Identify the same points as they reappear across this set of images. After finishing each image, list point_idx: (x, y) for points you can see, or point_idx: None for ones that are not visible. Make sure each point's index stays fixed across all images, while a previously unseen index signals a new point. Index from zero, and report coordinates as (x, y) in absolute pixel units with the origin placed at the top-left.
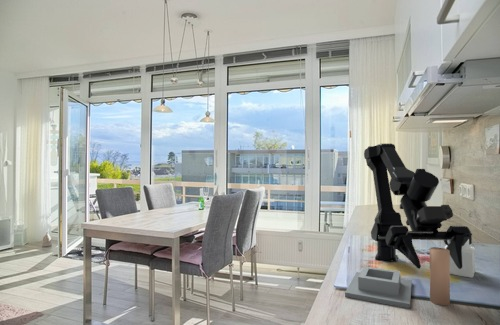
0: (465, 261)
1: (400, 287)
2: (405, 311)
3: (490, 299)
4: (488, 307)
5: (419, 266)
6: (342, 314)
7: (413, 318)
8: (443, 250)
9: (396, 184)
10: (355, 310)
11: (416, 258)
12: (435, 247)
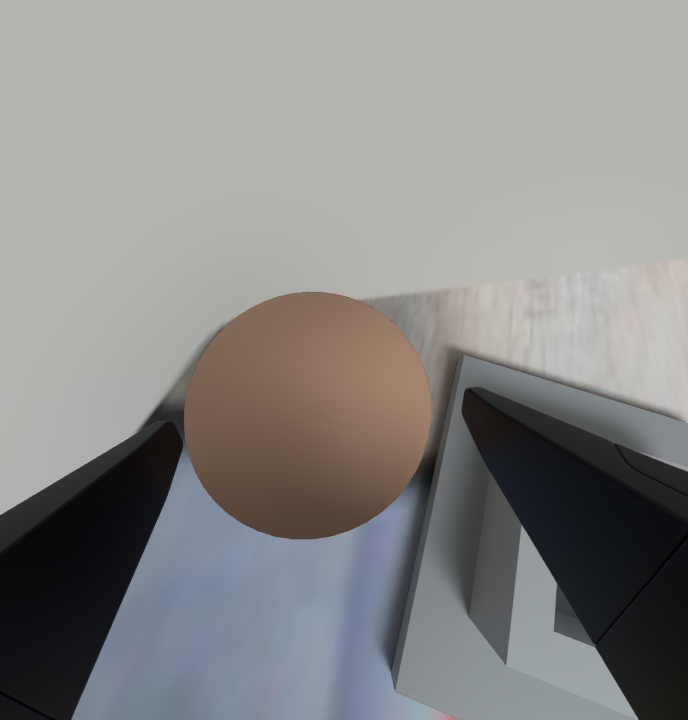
0: None
1: (477, 535)
2: (474, 338)
3: None
4: (177, 408)
5: (475, 388)
6: (660, 295)
7: (458, 298)
8: (274, 360)
9: None
10: (628, 324)
11: (524, 413)
12: (313, 529)
